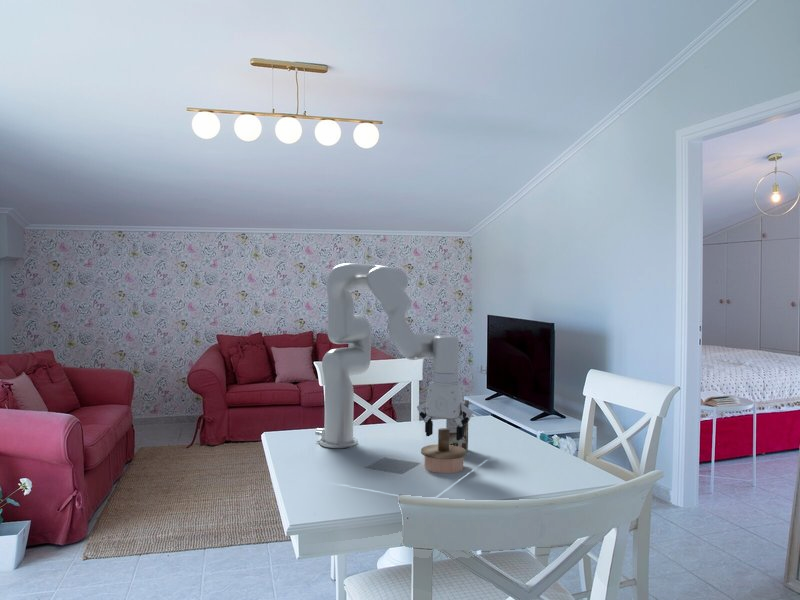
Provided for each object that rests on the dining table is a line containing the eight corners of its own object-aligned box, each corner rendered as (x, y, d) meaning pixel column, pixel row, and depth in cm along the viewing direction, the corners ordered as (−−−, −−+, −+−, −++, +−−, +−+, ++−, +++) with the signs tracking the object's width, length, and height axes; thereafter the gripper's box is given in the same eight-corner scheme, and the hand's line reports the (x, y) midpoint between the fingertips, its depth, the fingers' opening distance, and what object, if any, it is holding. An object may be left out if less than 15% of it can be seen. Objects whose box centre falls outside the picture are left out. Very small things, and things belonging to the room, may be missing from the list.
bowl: (418, 470, 179) (418, 454, 179) (433, 460, 189) (434, 446, 189) (454, 476, 174) (454, 460, 174) (468, 466, 184) (468, 451, 184)
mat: (364, 468, 180) (364, 467, 180) (384, 458, 191) (384, 457, 191) (401, 475, 174) (401, 473, 174) (420, 464, 185) (420, 463, 185)
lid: (413, 455, 179) (413, 431, 179) (432, 444, 190) (432, 422, 190) (456, 461, 173) (456, 437, 173) (472, 450, 184) (472, 427, 184)
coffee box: (465, 457, 194) (466, 405, 194) (445, 455, 195) (446, 404, 195) (468, 449, 203) (469, 400, 203) (448, 448, 204) (449, 398, 204)
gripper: (412, 377, 182) (411, 436, 182) (468, 382, 174) (467, 444, 174) (423, 374, 188) (422, 431, 189) (478, 379, 180) (477, 438, 181)
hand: (444, 437), depth 181 cm, fingers open, 9 cm apart
